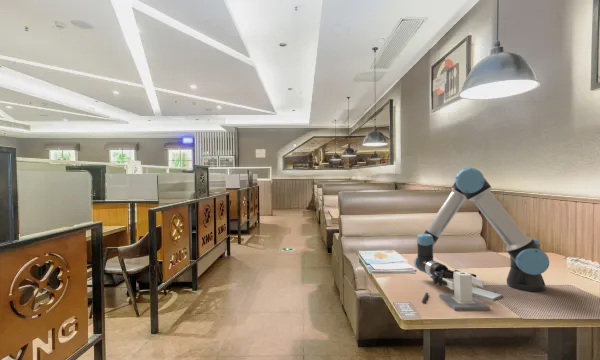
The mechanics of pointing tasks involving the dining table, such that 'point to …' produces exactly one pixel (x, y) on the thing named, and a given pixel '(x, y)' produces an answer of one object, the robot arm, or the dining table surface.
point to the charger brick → (463, 286)
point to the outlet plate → (463, 303)
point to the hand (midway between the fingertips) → (468, 285)
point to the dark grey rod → (425, 297)
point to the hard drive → (485, 294)
